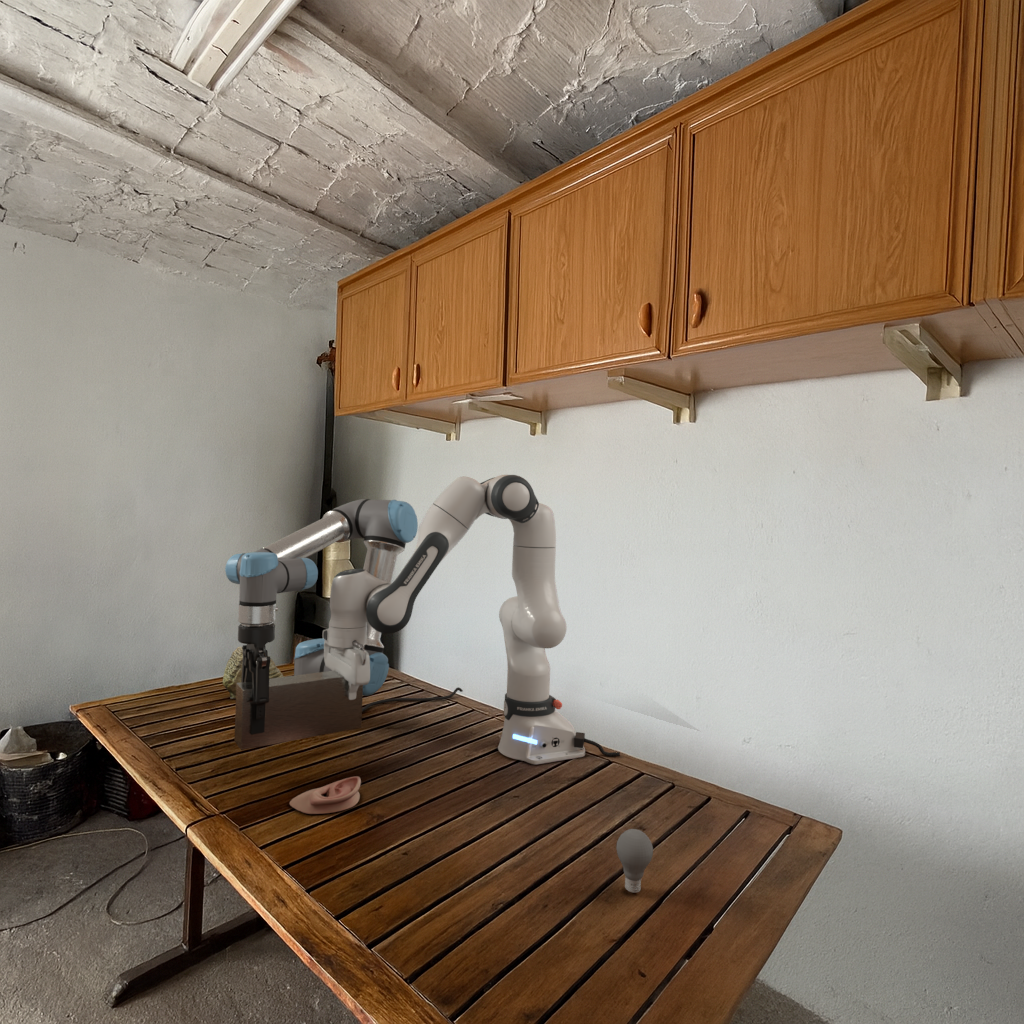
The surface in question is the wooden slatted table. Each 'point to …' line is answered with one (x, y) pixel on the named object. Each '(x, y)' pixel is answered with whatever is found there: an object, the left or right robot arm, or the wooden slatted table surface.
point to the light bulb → (634, 857)
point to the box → (298, 709)
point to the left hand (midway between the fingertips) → (253, 727)
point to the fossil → (235, 671)
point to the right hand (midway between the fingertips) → (345, 694)
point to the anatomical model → (329, 797)
